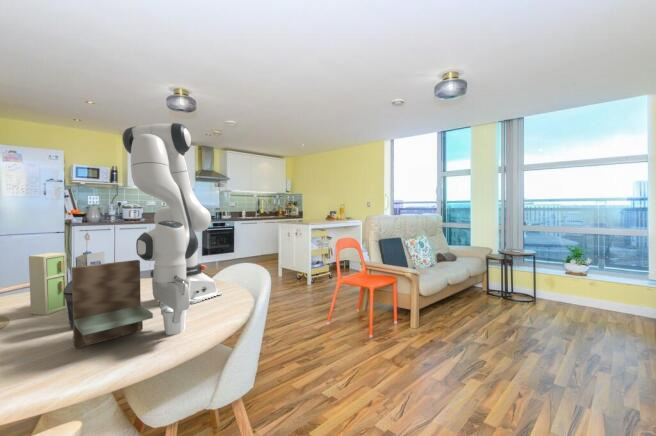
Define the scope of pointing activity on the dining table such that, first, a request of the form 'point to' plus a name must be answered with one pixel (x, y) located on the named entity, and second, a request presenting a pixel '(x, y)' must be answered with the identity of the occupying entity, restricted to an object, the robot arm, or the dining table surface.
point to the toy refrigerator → (47, 282)
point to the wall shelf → (106, 302)
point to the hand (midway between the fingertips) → (170, 318)
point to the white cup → (170, 326)
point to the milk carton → (90, 259)
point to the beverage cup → (69, 302)
